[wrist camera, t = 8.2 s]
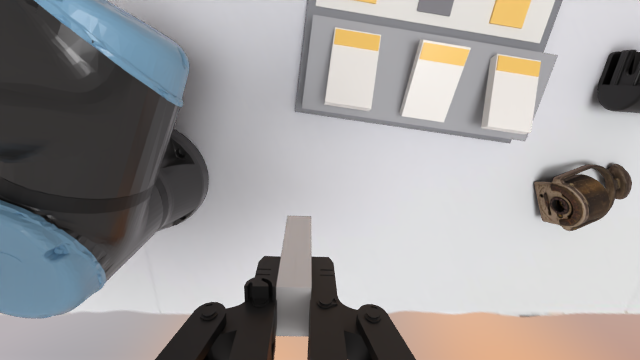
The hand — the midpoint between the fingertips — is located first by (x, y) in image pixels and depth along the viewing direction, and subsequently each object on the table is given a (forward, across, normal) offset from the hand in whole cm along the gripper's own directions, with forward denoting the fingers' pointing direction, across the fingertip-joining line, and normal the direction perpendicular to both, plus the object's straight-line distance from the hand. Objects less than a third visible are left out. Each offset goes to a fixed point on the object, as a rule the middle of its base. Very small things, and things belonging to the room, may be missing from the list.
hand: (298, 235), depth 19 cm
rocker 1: (+18, +5, +10) cm, 21 cm away
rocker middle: (+17, +14, +9) cm, 24 cm away
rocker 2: (+17, +23, +9) cm, 30 cm away
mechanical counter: (+24, +40, -5) cm, 47 cm away
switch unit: (+24, +14, +13) cm, 31 cm away
